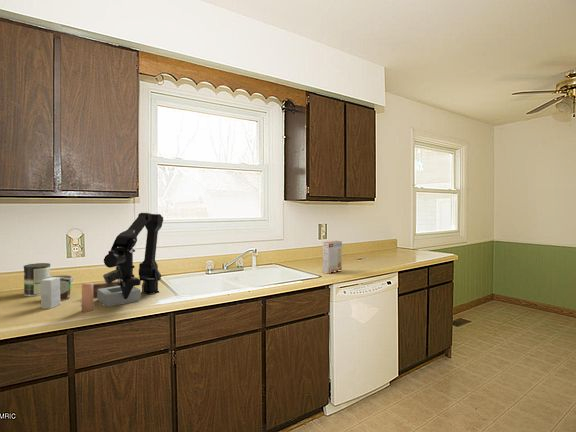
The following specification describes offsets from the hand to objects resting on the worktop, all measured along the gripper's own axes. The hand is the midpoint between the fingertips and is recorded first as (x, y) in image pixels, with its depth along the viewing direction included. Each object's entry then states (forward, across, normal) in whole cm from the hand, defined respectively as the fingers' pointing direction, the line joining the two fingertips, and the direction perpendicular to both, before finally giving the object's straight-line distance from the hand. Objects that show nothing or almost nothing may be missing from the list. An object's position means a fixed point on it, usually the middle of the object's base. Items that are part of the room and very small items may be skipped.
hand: (125, 298), depth 141 cm
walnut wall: (+2, -22, 0) cm, 22 cm away
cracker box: (+3, +17, +127) cm, 128 cm away
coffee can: (+3, -47, -25) cm, 53 cm away
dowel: (+2, -2, -14) cm, 14 cm away
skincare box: (+3, -18, -24) cm, 30 cm away
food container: (+3, -31, -18) cm, 36 cm away
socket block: (+2, -9, 0) cm, 9 cm away
